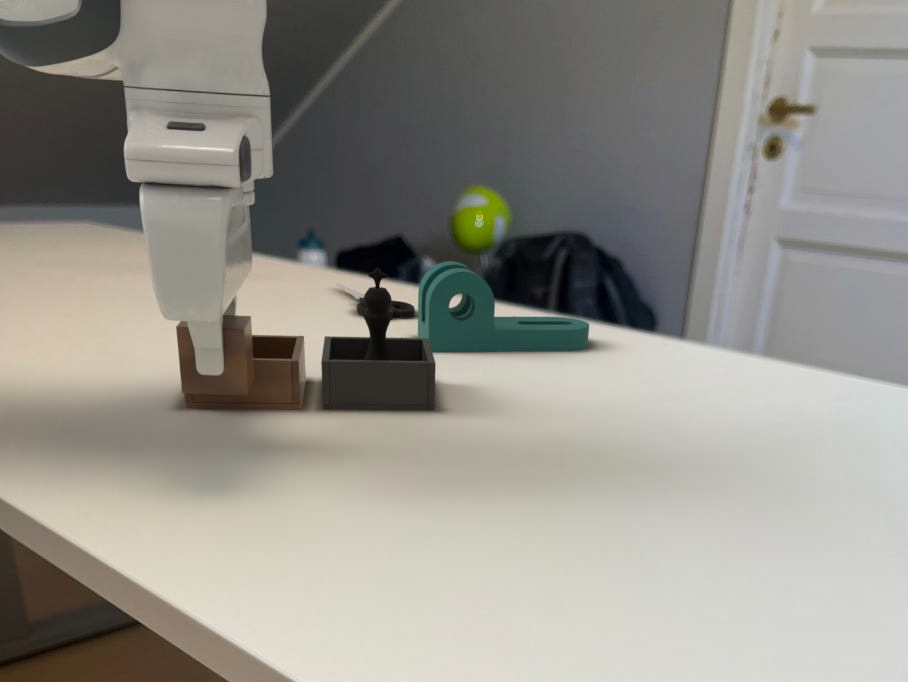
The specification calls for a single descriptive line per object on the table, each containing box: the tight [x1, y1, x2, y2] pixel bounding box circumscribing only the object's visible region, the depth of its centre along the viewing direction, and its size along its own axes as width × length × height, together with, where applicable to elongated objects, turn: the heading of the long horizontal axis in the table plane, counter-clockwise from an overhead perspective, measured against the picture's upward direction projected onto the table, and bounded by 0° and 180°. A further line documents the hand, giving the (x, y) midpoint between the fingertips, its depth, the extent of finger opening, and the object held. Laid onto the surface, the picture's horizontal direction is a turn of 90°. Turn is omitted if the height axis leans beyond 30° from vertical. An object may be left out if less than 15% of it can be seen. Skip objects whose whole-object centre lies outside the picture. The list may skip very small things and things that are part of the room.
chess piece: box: [363, 267, 393, 361], centre depth 82 cm, size 4×4×10 cm
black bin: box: [320, 335, 436, 412], centre depth 83 cm, size 9×9×4 cm
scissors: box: [335, 283, 416, 319], centre depth 120 cm, size 7×1×20 cm
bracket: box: [417, 260, 590, 353], centre depth 102 cm, size 18×7×8 cm, turn 102°
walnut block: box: [175, 315, 254, 395], centre depth 69 cm, size 4×4×4 cm
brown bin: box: [183, 334, 307, 410], centre depth 82 cm, size 9×9×4 cm
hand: (217, 362), depth 69 cm, fingers closed on walnut block, 4 cm apart
